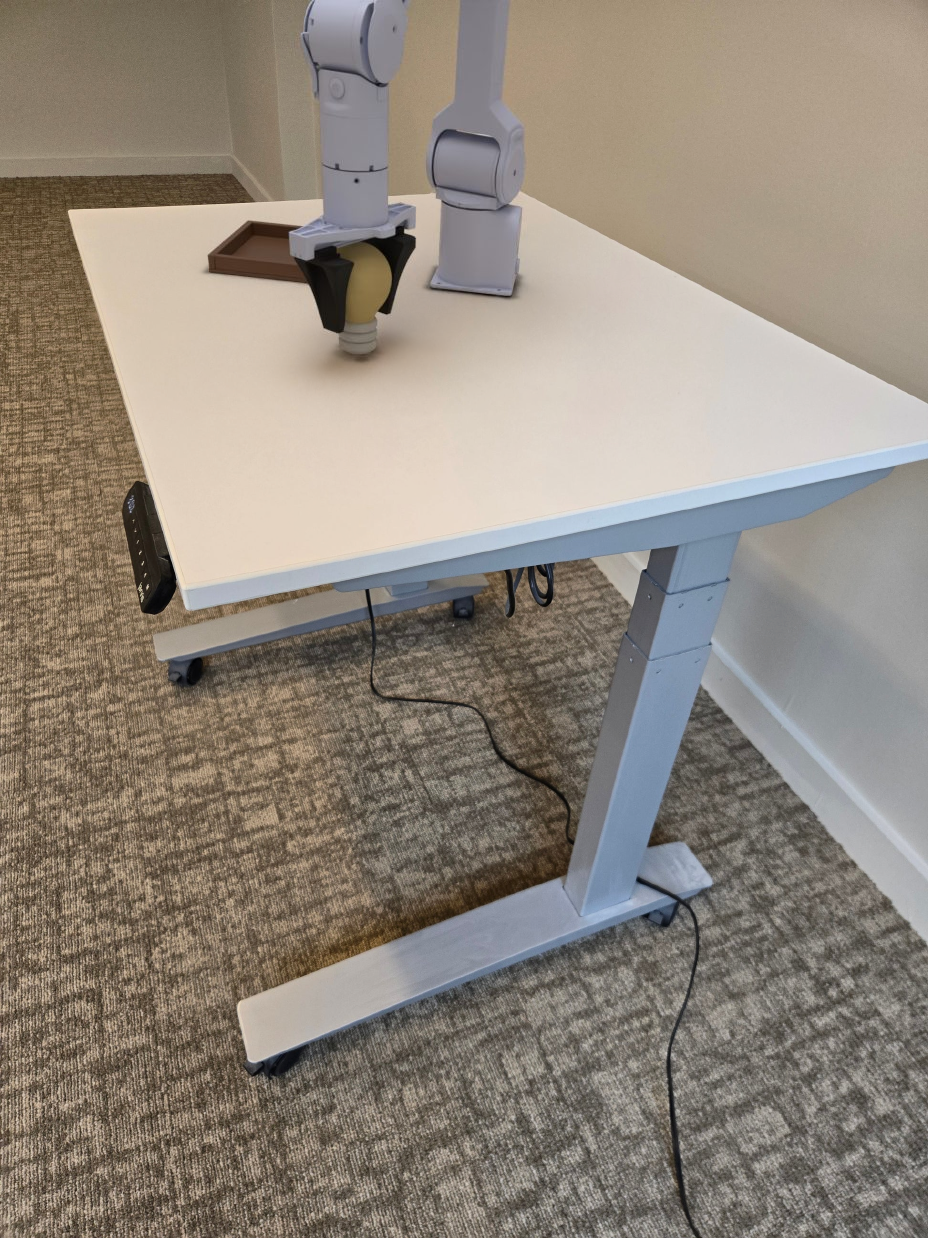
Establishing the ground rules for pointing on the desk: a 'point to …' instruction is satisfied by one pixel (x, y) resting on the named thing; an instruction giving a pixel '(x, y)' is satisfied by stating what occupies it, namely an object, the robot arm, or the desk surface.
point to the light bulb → (364, 296)
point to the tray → (257, 252)
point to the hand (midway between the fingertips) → (357, 320)
